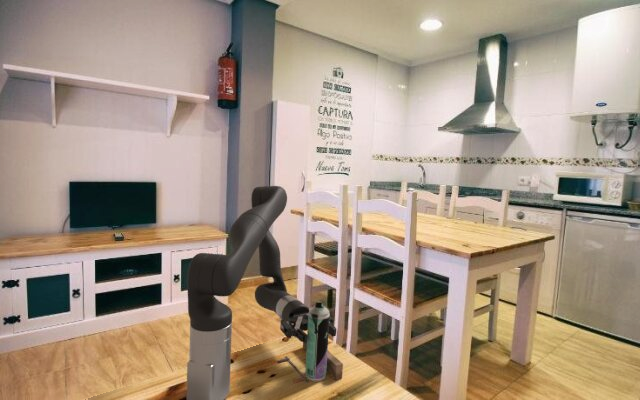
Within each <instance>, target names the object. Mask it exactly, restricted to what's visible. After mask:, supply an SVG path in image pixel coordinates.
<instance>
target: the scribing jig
mask: <svg viewBox="0 0 640 400" xmlns="http://www.w3.org/2000/svg"><path fill="white" fill-rule="evenodd" d="M302 349H304V351H305V352H306V350H307V343H303V342H302ZM276 362H277V363H278V364H282V363H286V362H289V364H290V365H291V367H292V368H294V369H295V371H296V372H297V373H298V374H299V375H300V378H295V379H293V380H292V382H293V384H296V383H299V382H302V381H305V382H306V383H309V382H310V380H308V379H307V378H306V376H305V375H304V374H303V373H302V372H301V371H300V370H299V369H298V367H297V366H296V365H295V364H294V363H293V361H291V359H290V357H288V356H287V355H286V356H284V358H282V359H279V360H277V361H276ZM343 369H344V363H343V362H341V361H340V360H339V358H337V357H336V356H335V355H334V354H333V353H332V352H331V351H329V350H328V351H327V368H326V373H327V374H329V376H331V378H333V380H334V381H338V380H341V379H343V372H344V371H343Z"/></svg>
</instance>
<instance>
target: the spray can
mask: <svg viewBox="0 0 640 400" xmlns="http://www.w3.org/2000/svg"><path fill="white" fill-rule="evenodd" d="M330 314H331V313H330V310H329V308H327V307H326V306H325V305H324V302H323V300H318V301H316V302H315V304H314V306H313V307H309V313H308V330H307V333H306V334H307V336H308V338H307V350H306V351H305V353H306V354H305V371H304V373H305V375H304V376H305V377H306V378H307V380H308V381H311V382H321V381H324V380H325V379H326V377H327V371H326V368H327V351H329V349H328V347H329V335H330V334H329V317H331V316H330Z"/></svg>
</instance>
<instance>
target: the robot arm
mask: <svg viewBox="0 0 640 400" xmlns="http://www.w3.org/2000/svg"><path fill="white" fill-rule="evenodd" d="M250 199H251V208H250V209H248V210H246V211H244V212H243V213H241V214H240V215H239V216H238V218H237V219H236V220H235V221H234V223H232V225H231V227H230V229H229V240H230V243H231V246H232V249H233V251H232V253H229V254H220V253H219V254H217V253H209V252H208V253H207V252H200V253H196V254H195V255H194V256H193V257H192V259H191V260H190V263H189V265H188V269H187V276H186V277H187V278H186V283H187V285H186V288H187V310H188V312H187V313H188V316H189V321H190V322H189V324H190V325H189V326H190V327H189V356H188V357H189V359H188V360H189V361H188V362H187V365H186V367H187V368H186V400H225V399H226V398H227V397H228V396H229V395H230V389H231V388H230V387H231V361H232V360H231V359H232V358H231V356H232V332H233V331H232V330H233V329H232V327H233V311H232V309H231V307H230V306H228V305H227V304H225V303H223V302H222V301H220V300H219V299H218V298H217V297H230V296H231V295H233V294H234V292H235V291H237V288H238V287H239V285H240V283H241V281H242V279H243V277H244V275H245V272H246V270H247V268H248V266H249V264H250V262H251V259H252V257H253V256H254V254H255V253H256V251H257V249H258V258H259V259H258V260H259V261H258V262H259V274H260V275H261V277H266V278H272V280H273V282H268V283H263V284H259V285H258V286H257V287H256V288H255V291H254V299H255V302H256V303H257V304H258V305H259V306H260V307H262V308H264V309H266V310H269V311H272V312H274V313H275V314H276V315H277V316H278V317H279V319H280V325H279V326H280V327H279V330H280V331H281V333H283V335H284V336H285V337H286V338H287V339H291V338H292V337H293V338H295V339H297V340H299V341H300V342H301V343H302V344H303V343H307V338H308V336H307V333H306V332H305V331H308V313H309V309H310V307H308V306H307V305H306V304H304V302H302V301H301V300H299V299H298V298H296V297H294V296H293V295H291V294H290V293H289V292H288V290H287V286H286V283H285V280H284V277H283V272H282V268H281V264H282V263H281V250H280V247H279V245H278V243H277V241H276V239H275V237H274V236H273V235H272V233H271V231H270V228H271V227H272V226H273V224H274V223H275V221H276V220H277V219H278V218H279V217H280V216H281V215H282V213H283V212H284V211H285V209H286V206H287V203H288V195H287V191H286V189H285V188H284V187H282V186H280V185H266V186H256V187H254V188H253V190H252V193H251V198H250ZM328 335H330V336H332V337H334V338H335V337H336V336H337V327H336V326H335V318H333V317H332V316H330V317H329V334H328Z"/></svg>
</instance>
